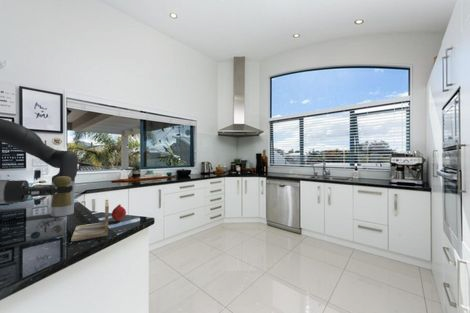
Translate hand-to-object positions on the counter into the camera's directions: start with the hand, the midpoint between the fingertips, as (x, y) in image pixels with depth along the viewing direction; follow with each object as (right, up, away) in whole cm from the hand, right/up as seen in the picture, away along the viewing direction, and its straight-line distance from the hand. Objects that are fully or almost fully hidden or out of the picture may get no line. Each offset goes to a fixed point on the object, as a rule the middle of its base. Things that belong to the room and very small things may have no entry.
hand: (71, 188), depth 78 cm
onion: (+8, -18, +17) cm, 26 cm away
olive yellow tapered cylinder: (-3, -6, -1) cm, 7 cm away
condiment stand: (+5, -18, +3) cm, 19 cm away
